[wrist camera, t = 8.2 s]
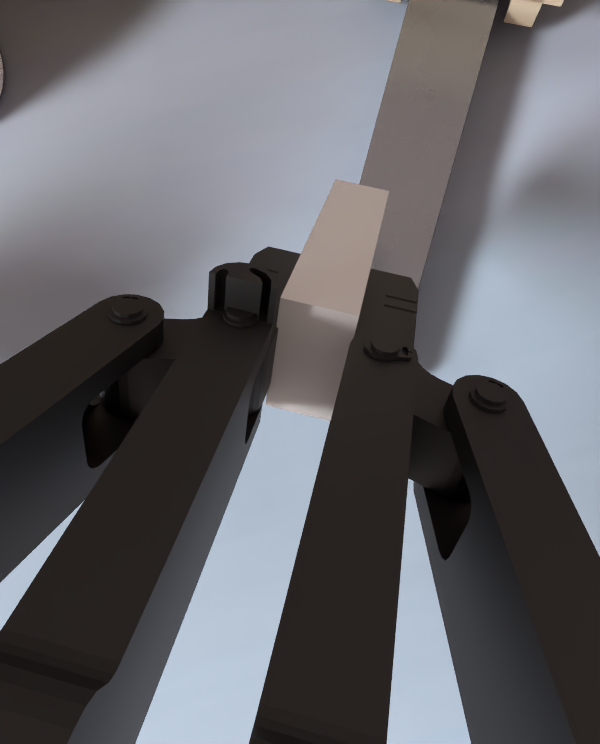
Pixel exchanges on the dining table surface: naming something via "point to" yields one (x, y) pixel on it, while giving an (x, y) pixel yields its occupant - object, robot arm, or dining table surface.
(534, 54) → the dining table surface
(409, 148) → the rail track
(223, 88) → the dining table surface
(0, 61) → the supplement bottle
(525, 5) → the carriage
